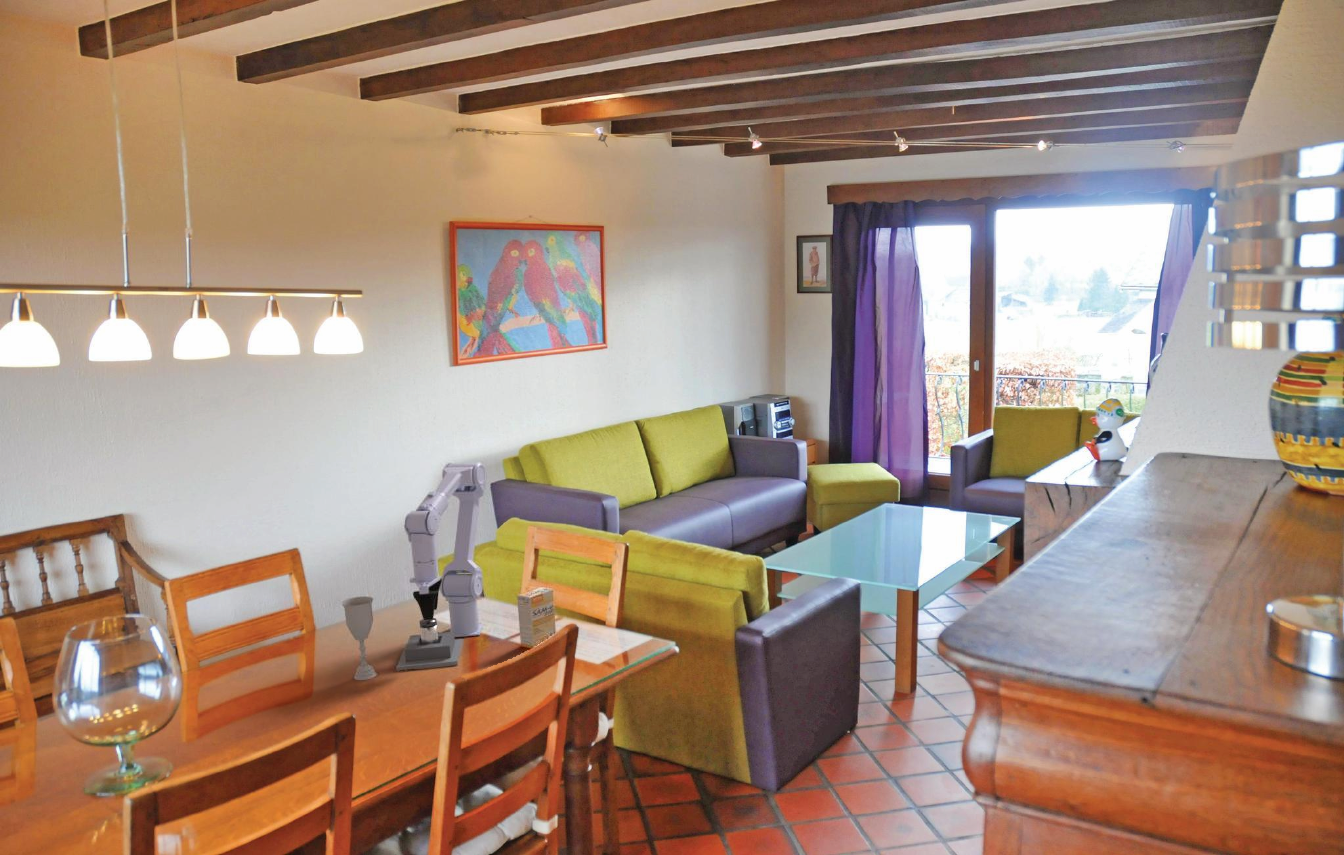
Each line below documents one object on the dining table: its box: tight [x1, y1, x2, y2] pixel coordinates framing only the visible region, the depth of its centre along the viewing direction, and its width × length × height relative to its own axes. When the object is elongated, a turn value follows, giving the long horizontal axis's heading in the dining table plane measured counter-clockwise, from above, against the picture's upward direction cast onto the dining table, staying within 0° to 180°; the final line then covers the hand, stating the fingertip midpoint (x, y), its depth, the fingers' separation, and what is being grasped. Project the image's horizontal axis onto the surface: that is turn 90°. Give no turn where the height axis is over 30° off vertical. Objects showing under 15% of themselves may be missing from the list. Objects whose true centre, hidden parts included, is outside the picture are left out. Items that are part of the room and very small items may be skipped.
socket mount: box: [395, 631, 464, 672], centre depth 244 cm, size 16×14×4 cm
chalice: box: [341, 596, 378, 681], centre depth 233 cm, size 7×7×18 cm
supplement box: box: [516, 586, 557, 649], centre depth 249 cm, size 8×5×13 cm, turn 143°
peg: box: [419, 617, 439, 645], centre depth 244 cm, size 4×4×8 cm
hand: (430, 614), depth 244 cm, fingers open, 7 cm apart
